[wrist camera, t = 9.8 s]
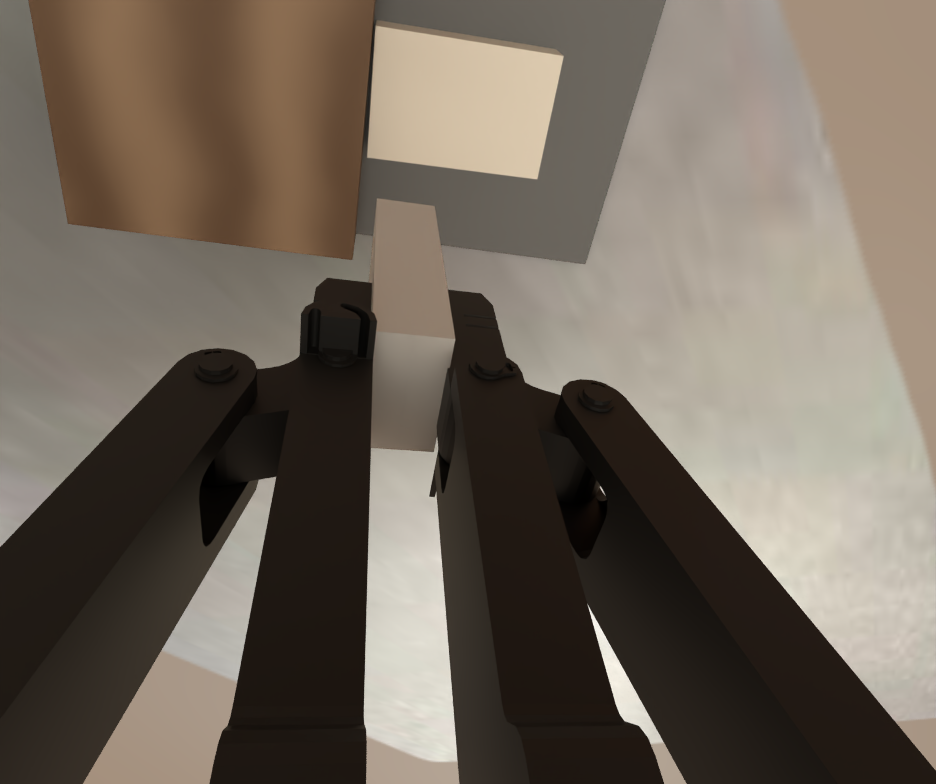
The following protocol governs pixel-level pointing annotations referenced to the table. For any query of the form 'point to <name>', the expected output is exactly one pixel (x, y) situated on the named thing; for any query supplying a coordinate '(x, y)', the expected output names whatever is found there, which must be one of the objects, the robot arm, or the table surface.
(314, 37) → the deck
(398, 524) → the table surface
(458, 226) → the mat
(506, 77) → the tile
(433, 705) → the table surface
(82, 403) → the table surface
